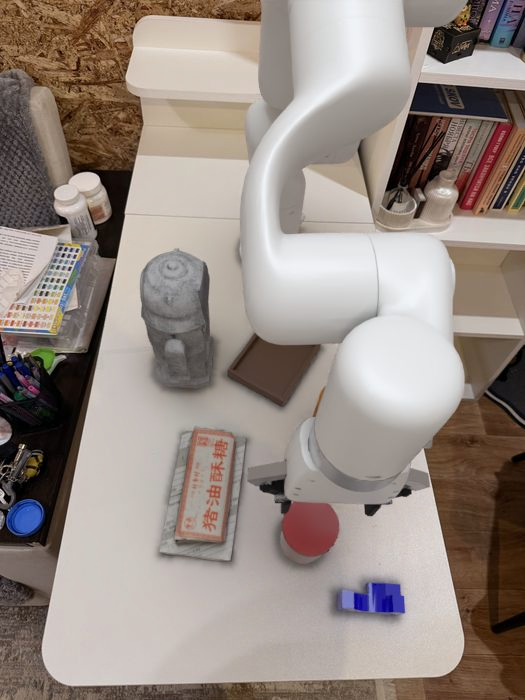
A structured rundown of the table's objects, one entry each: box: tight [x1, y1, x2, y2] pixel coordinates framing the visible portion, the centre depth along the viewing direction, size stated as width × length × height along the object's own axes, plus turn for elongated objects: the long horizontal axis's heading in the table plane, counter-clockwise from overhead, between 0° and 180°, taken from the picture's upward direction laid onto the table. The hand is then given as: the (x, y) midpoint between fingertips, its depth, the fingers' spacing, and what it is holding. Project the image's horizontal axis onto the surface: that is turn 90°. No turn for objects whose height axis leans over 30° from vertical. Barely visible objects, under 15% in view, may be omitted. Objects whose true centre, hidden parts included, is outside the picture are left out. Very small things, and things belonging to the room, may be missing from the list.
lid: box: [281, 501, 340, 557], centre depth 65 cm, size 7×7×2 cm
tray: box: [227, 332, 322, 407], centre depth 86 cm, size 13×11×2 cm
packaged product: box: [158, 426, 247, 562], centre depth 73 cm, size 18×5×10 cm
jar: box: [279, 530, 321, 565], centre depth 68 cm, size 6×6×10 cm
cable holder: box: [336, 582, 406, 616], centre depth 67 cm, size 8×4×4 cm, turn 85°
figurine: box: [139, 247, 215, 389], centre depth 76 cm, size 10×14×25 cm
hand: (325, 500), depth 54 cm, fingers open, 8 cm apart
